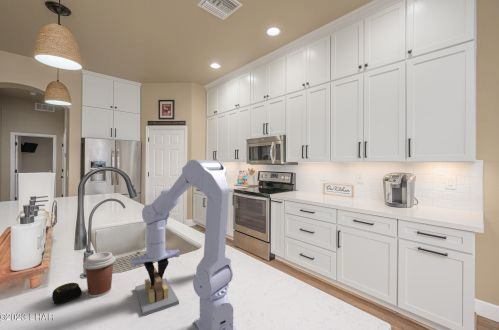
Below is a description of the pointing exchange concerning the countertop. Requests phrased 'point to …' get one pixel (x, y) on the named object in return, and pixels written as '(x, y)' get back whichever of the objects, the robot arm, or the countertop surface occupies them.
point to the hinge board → (148, 299)
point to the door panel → (157, 286)
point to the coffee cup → (99, 273)
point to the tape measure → (66, 293)
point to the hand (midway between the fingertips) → (155, 283)
